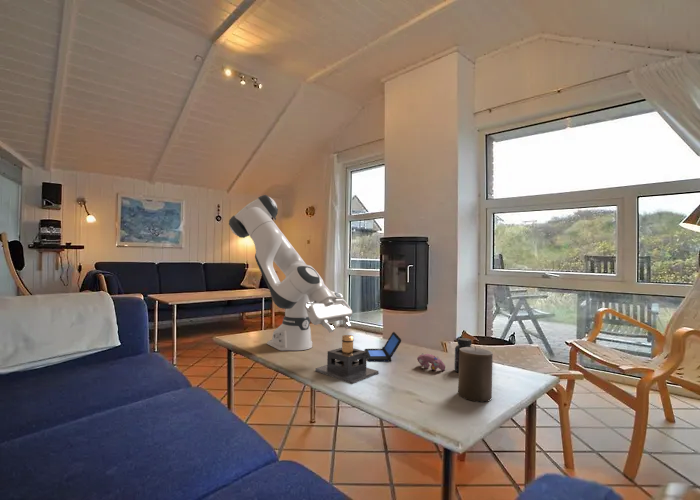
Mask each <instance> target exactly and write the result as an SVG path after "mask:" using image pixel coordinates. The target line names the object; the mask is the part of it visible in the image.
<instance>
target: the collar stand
mask: <svg viewBox="0 0 700 500" xmlns="http://www.w3.org/2000/svg"><path fill="white" fill-rule="evenodd" d="M326 360H327V364H324V365H321V366H318V367H315V372H317V373H320V374H323V375H326V376H328V377H332V378H335V379H338V380H341V381H343V382H346V383H350V384H351V385H352V384H357V383H358V382H361V381H363V380H366V379H369V378H371V377H373V376H377V375H379V370H376V369H373V368H369V367H367V361H368V358H367V352H366V351H365V350H361V349H357V348H354V347H353V353H352V354H349V355H347V354H343V353H342V347H339V348H336V349H335V348H334V349H332V350H328V351H327V358H326ZM342 361H343V362H344V365H342ZM352 362H353V365H352Z"/></svg>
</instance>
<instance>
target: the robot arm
mask: <svg viewBox="0 0 700 500" xmlns="http://www.w3.org/2000/svg"><path fill="white" fill-rule="evenodd" d="M278 213H279V209H278V204H277V202H276V201H275V199H273V198H272V197H270V196H268V195H266V194H262V195H261V196H260V195H259V196H258V197H257V198H256V199H254V200H253V201H251V202H249V203H247V204H246V205H245V206H244V207H243V208H241V209H240V210H239V211H238V212H237V213H236V214H234V215H233V216H231V217H230V218H229V220H228V225H229V228H230V230H231V232H232V233H233V234H234V235H235V236H236V237H239V238H241V239H245V238H247V237H250V238H251V239H252V241H253V243H254V247H255V254H254V259H255V262H256V265H257V267H258V268H259V270H260V271H259V272H260V274H261V275H262V277H263V280H264V281H265V284H266V285H267V288H268V290H269V292H270V296H271V300H272V302H273V303H274V305H275V306H276V307H277V308H279V309H283V310H285V311H284V312H285V313H284V316H283V317H281V320H282V321H281V322H282V323H281V324H280V325H279V326H278V327H276V329H274V331H273V332H272V337H271V338H272V339H271V340H268V341H267V342H266V345H268V346H271V348H274V349H276V350H278V351H303V350H304V351H305V350H308V349H312V347H313V341H312V331H311V326H310V324H311V323H312V325H314V326H317V325H322V327H324V329H326V330H327V331H328V333H334V331H335V328H334V326H333V325H331V324H330V323H333V322H339V321H343V322H344V325H343V326H344V327H345V329H350V328H351V327H352V324H351V323H350V318H351V316H352V315H353V310H352V308H351V307H350V305H349V304H348V303H347V302H348V301H346V300H345V299H344V296H343V294H342V293H340V292H336V291H334V290H330V289H329V288H328V286H326V284H325V281H324V280H323V278H322V277H321V275H320V274H319V273H318V271H317V270H316V269H315V268H314V267H313V266H312V265H310V264H307V263H306V261H304V259H303V258H302V256H301V255H300V253H298V251H297V250H296V249H295V248H294V246H293V245H292V243H291V242H290V241H289V240H288V238H287V236H285V234H284V233H283V232H282V231H281V229H280V228H279V226H278V225H277V224H276V222H275V221H276V220H277V218H276V217H277V215H278ZM273 219H274V220H275V221H274V220H273ZM274 263H275V265H276V266H277V267H278V268H279V270H280V271H281V272H282V274H284V276H285V277H284V279H283V280H280V279H279V276H278V274H277V272H276V271H275V270H276V269H275V268H274Z"/></svg>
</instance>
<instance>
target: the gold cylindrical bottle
mask: <svg viewBox="0 0 700 500" xmlns="http://www.w3.org/2000/svg"><path fill="white" fill-rule="evenodd" d="M341 348H342V353H343V354H347V355H349V354H352V353H353V348H354V335H352V334H343V335H342V337H341ZM342 365H344V362H343V361H342ZM352 365H353V362H352Z"/></svg>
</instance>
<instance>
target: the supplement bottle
mask: <svg viewBox="0 0 700 500" xmlns="http://www.w3.org/2000/svg"><path fill="white" fill-rule="evenodd" d="M463 347H472V339H471V338H468V337H467V338H466V337H459V338H457V344H456V345H455V346H454V367H453V368H454V369H453V370H454V371H455V372H456V373H458V374H459V350H460V348H463Z"/></svg>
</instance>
